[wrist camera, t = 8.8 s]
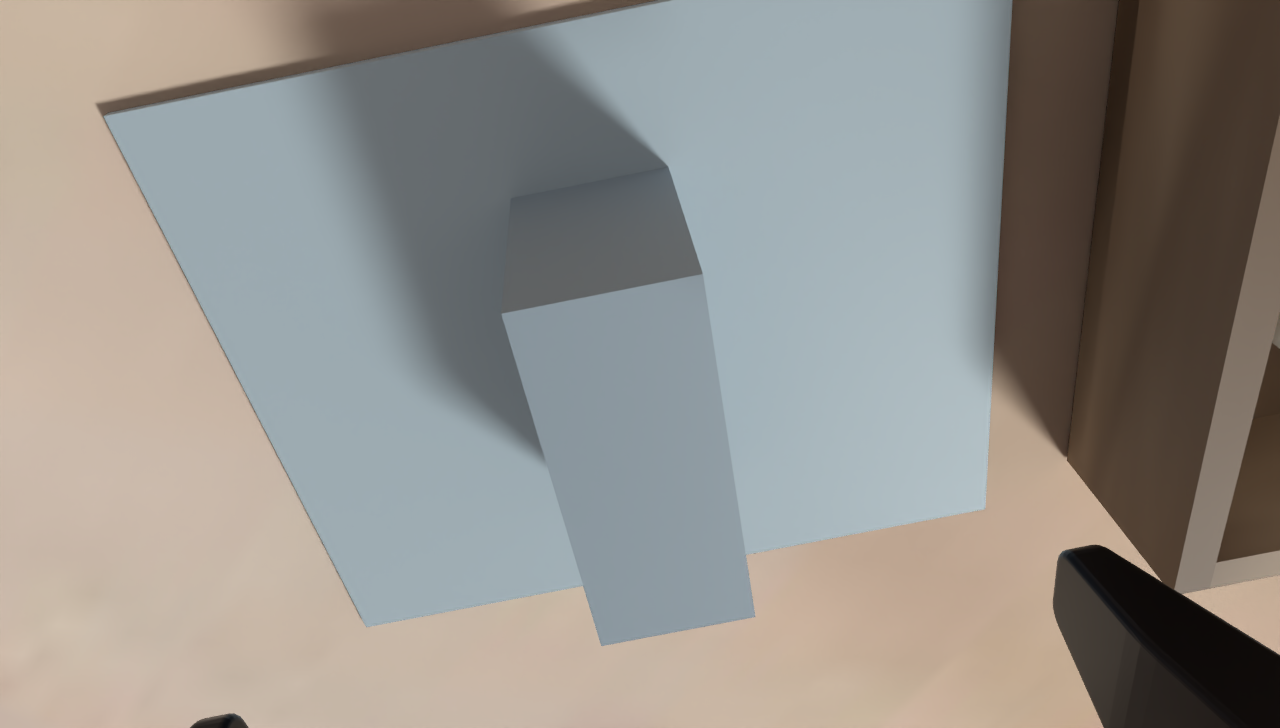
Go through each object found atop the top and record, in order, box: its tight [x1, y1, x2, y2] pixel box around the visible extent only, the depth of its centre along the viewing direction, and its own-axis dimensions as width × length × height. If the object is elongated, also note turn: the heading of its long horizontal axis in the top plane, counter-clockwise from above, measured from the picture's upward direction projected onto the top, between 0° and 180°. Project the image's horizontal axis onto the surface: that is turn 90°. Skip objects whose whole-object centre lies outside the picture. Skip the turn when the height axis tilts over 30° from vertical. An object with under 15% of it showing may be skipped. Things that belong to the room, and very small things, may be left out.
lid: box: [103, 0, 1012, 646], centre depth 14 cm, size 13×11×4 cm
